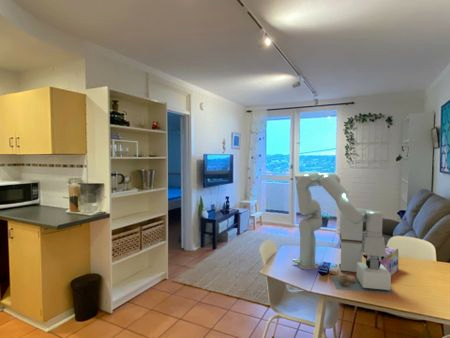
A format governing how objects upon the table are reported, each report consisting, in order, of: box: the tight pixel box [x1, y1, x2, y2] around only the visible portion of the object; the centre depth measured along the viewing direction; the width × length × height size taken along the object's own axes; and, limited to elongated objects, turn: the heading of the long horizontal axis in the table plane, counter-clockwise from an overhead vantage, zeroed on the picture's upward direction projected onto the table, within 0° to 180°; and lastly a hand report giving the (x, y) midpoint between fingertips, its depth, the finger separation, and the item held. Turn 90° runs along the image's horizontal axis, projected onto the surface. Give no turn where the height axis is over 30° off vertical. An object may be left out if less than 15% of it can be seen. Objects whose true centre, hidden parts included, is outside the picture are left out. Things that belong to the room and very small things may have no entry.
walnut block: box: [339, 275, 349, 287], centre depth 150 cm, size 4×4×4 cm
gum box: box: [370, 245, 399, 276], centre depth 167 cm, size 24×8×14 cm, turn 127°
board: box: [331, 275, 395, 295], centre depth 150 cm, size 28×16×1 cm, turn 79°
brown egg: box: [346, 274, 356, 283], centre depth 154 cm, size 4×4×3 cm
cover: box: [355, 257, 392, 290], centre depth 149 cm, size 13×13×13 cm
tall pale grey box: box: [338, 212, 364, 275], centre depth 169 cm, size 11×11×35 cm
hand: (373, 266), depth 149 cm, fingers closed on cover, 4 cm apart
